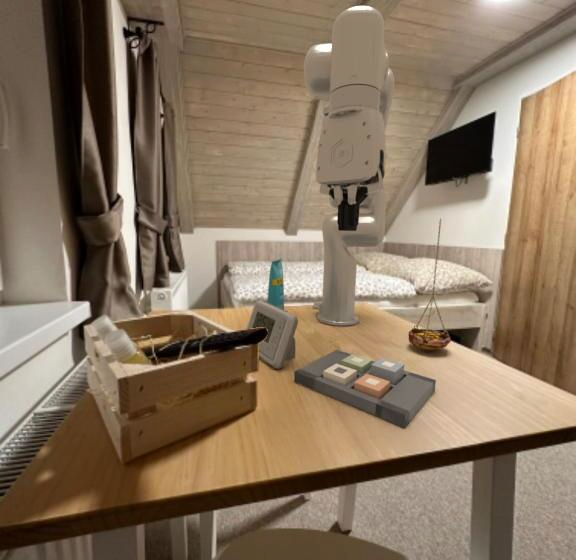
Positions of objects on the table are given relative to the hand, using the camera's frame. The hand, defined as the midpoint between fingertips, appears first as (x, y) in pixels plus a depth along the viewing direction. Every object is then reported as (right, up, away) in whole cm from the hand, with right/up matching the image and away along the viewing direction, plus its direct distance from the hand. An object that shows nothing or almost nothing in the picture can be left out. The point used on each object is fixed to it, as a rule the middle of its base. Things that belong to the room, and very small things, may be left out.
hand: (347, 230), depth 51 cm
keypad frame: (+4, -27, +5) cm, 27 cm away
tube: (-13, -22, +33) cm, 42 cm away
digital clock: (-14, -25, +18) cm, 33 cm away
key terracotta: (+4, -27, +1) cm, 27 cm away
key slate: (+8, -25, +5) cm, 27 cm away
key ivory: (-1, -26, +4) cm, 27 cm away
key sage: (+3, -26, +9) cm, 27 cm away
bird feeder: (+23, -24, +23) cm, 40 cm away
